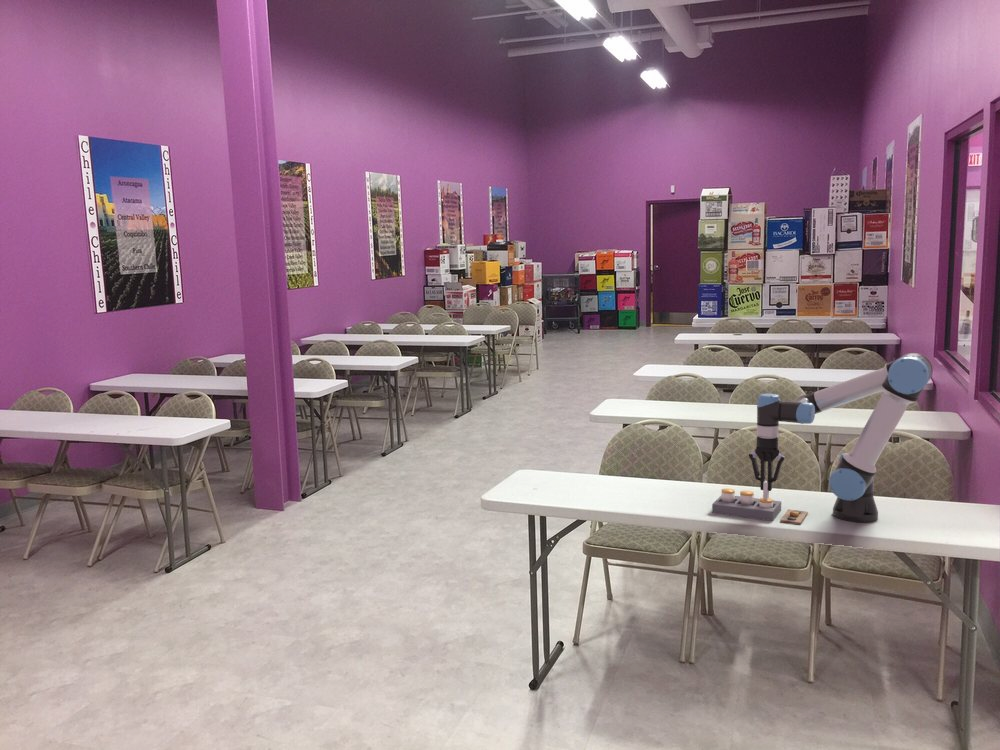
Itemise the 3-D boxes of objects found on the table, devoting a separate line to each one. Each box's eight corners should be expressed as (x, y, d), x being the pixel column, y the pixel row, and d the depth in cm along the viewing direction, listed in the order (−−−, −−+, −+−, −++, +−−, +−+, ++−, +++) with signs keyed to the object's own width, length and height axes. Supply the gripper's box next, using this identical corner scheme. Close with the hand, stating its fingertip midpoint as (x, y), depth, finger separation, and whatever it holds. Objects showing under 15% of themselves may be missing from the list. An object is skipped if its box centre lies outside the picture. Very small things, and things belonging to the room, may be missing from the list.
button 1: (736, 500, 308) (736, 489, 308) (732, 504, 304) (732, 492, 304) (723, 499, 311) (723, 487, 310) (719, 502, 307) (720, 491, 306)
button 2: (774, 510, 301) (774, 498, 301) (771, 513, 297) (771, 502, 297) (760, 508, 304) (761, 497, 303) (757, 512, 300) (758, 500, 299)
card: (807, 513, 300) (807, 508, 300) (800, 524, 288) (800, 519, 288) (788, 511, 304) (788, 506, 303) (780, 522, 292) (780, 516, 291)
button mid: (754, 503, 305) (755, 491, 304) (751, 506, 301) (752, 494, 300) (741, 501, 307) (742, 490, 307) (738, 504, 303) (738, 493, 302)
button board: (781, 510, 305) (781, 501, 304) (773, 521, 293) (773, 511, 292) (722, 503, 316) (722, 494, 315) (712, 513, 304) (712, 503, 303)
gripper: (788, 435, 297) (786, 498, 300) (751, 432, 303) (750, 494, 307) (783, 439, 290) (782, 503, 294) (746, 436, 297) (745, 499, 300)
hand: (765, 498), depth 300 cm, fingers closed
